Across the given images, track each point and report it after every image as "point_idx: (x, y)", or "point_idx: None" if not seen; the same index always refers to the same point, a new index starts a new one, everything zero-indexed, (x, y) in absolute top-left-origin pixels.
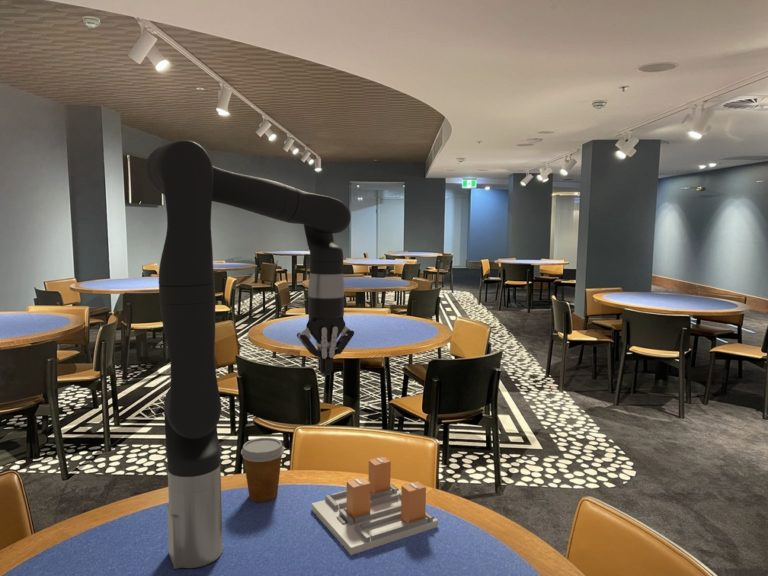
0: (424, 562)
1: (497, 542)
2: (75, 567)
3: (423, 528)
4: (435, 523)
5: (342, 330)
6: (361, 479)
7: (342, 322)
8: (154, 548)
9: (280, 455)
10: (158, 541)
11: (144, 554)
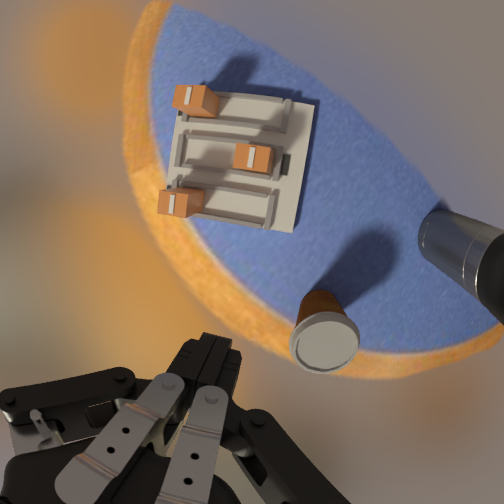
0: (250, 50)
1: (160, 43)
2: None
3: None
4: None
5: (40, 450)
6: (240, 162)
7: (13, 482)
8: None
9: (309, 316)
10: (448, 285)
11: None
